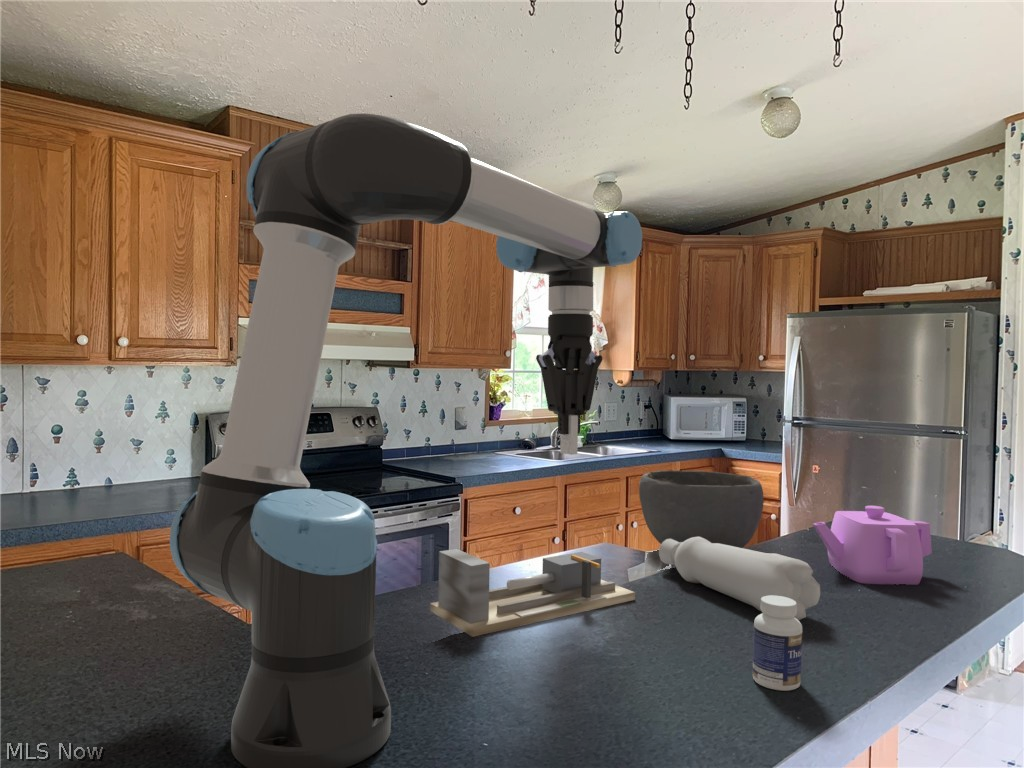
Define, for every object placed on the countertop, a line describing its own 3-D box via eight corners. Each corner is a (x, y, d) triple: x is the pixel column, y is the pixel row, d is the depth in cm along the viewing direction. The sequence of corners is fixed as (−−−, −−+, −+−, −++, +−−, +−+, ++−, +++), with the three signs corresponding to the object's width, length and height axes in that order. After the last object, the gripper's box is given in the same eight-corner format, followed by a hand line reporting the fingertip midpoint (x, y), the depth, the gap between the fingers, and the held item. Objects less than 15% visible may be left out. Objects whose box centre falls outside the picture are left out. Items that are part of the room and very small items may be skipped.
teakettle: (908, 594, 122) (910, 520, 122) (806, 572, 134) (808, 505, 134) (938, 575, 134) (940, 507, 134) (842, 556, 146) (844, 494, 146)
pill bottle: (795, 696, 83) (798, 611, 83) (747, 684, 86) (749, 602, 86) (804, 679, 88) (807, 598, 88) (758, 669, 91) (761, 590, 90)
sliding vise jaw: (617, 595, 114) (618, 560, 114) (534, 613, 105) (535, 576, 105) (581, 580, 121) (581, 548, 121) (500, 596, 112) (500, 561, 112)
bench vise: (634, 599, 117) (636, 542, 116) (472, 636, 99) (474, 569, 99) (585, 580, 126) (586, 527, 126) (430, 611, 109) (431, 549, 109)
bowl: (654, 531, 165) (656, 464, 164) (769, 545, 154) (771, 473, 154) (621, 556, 143) (623, 479, 142) (752, 574, 132) (754, 491, 132)
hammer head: (590, 597, 112) (591, 562, 111) (586, 598, 111) (587, 562, 111) (585, 595, 113) (586, 560, 112) (581, 596, 112) (582, 560, 112)
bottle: (833, 596, 110) (695, 554, 136) (809, 548, 107) (674, 515, 134) (797, 638, 106) (663, 586, 133) (771, 590, 104) (640, 547, 131)
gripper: (584, 315, 131) (583, 448, 132) (526, 312, 123) (524, 453, 124) (614, 314, 125) (612, 453, 125) (554, 310, 117) (552, 459, 118)
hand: (568, 453), depth 125 cm, fingers closed
